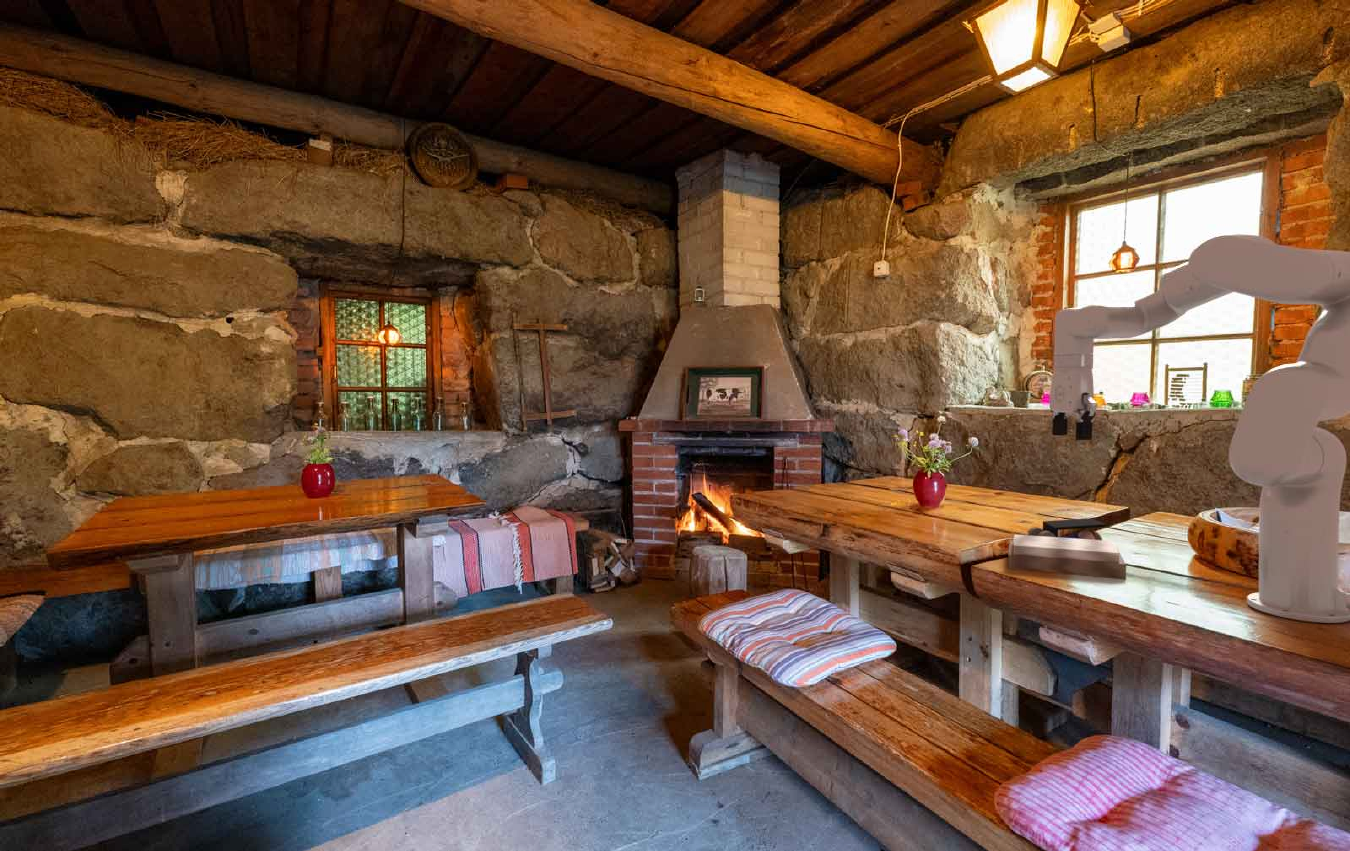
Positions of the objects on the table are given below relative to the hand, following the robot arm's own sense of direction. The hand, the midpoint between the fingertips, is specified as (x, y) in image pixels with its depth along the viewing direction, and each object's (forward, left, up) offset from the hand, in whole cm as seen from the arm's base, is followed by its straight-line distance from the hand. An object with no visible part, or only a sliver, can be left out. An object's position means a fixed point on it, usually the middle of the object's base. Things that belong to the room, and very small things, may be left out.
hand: (1071, 437), depth 142 cm
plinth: (+2, +10, -28) cm, 29 cm away
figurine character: (+1, -5, -28) cm, 28 cm away
